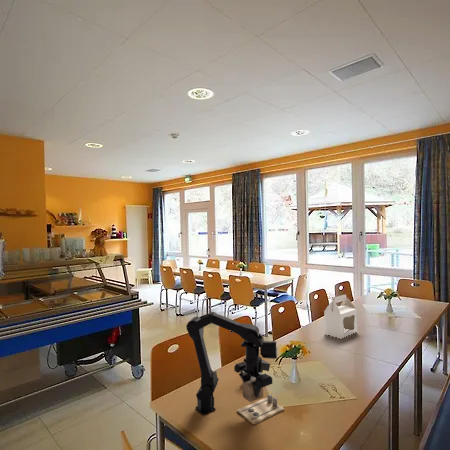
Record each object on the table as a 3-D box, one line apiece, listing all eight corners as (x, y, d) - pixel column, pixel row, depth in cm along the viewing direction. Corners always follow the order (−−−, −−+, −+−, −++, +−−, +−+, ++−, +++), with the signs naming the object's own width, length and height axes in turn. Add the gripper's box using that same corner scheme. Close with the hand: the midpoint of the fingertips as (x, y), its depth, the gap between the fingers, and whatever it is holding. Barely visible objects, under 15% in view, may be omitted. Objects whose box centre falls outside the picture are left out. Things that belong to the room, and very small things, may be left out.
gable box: (340, 328, 240) (339, 292, 241) (357, 332, 230) (356, 294, 231) (324, 334, 226) (323, 296, 227) (341, 339, 216) (340, 299, 217)
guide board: (253, 424, 123) (253, 415, 123) (237, 411, 132) (236, 402, 132) (284, 410, 132) (284, 401, 133) (266, 398, 142) (266, 390, 142)
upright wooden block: (250, 402, 126) (250, 387, 126) (242, 396, 130) (242, 382, 130) (263, 396, 130) (263, 382, 130) (255, 391, 134) (255, 377, 134)
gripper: (282, 359, 127) (282, 397, 127) (252, 345, 143) (253, 379, 142) (261, 366, 121) (262, 406, 121) (233, 351, 136) (233, 387, 136)
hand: (252, 394), depth 130 cm, fingers closed on upright wooden block, 5 cm apart
